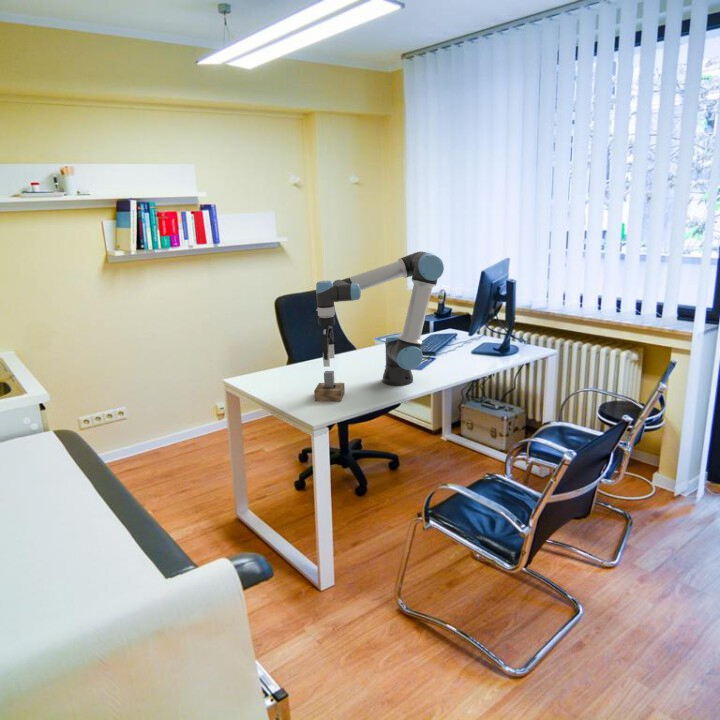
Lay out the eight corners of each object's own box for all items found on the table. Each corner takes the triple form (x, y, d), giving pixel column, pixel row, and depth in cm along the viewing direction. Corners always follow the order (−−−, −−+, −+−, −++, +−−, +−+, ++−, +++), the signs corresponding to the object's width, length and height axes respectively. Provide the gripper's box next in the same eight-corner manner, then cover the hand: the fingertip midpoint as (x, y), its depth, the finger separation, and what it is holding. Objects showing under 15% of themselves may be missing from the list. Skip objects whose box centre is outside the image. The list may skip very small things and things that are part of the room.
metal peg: (335, 395, 271) (333, 370, 268) (333, 398, 268) (332, 373, 264) (326, 395, 272) (325, 370, 269) (325, 398, 268) (323, 373, 265)
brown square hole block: (344, 393, 275) (344, 382, 273) (341, 401, 263) (340, 390, 262) (319, 392, 276) (318, 382, 275) (314, 401, 265) (314, 390, 263)
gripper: (322, 311, 272) (325, 355, 278) (312, 322, 248) (316, 370, 254) (338, 310, 271) (341, 354, 277) (330, 321, 247) (333, 369, 253)
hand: (329, 362), depth 265 cm, fingers open, 13 cm apart
